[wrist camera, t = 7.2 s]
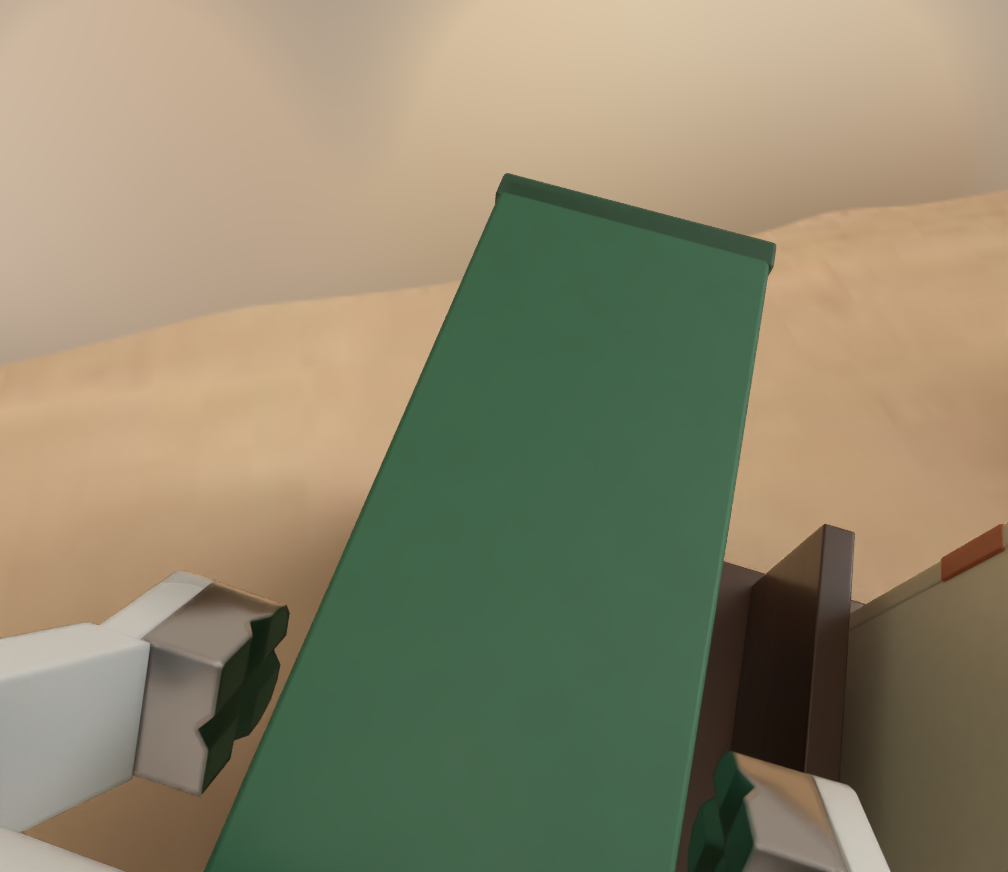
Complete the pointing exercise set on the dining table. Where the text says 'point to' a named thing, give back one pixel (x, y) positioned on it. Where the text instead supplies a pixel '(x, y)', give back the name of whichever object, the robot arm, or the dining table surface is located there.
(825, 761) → the book rack
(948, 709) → the cream book
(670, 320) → the green book
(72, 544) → the dining table surface
